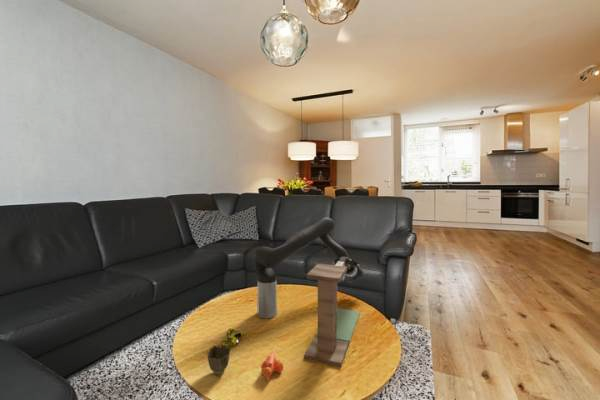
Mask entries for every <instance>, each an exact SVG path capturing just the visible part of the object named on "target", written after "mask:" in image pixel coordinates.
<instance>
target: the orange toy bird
mask: <svg viewBox="0 0 600 400" xmlns="http://www.w3.org/2000/svg"><path fill="white" fill-rule="evenodd" d="M275 355H276V350H274V349H273V350H272V351H271V354H270V355H268V356H267V357H266V359H265V360H264V361H262V364H261V366H260V367H261V373H262V374H263V375H264V377H265V378H266V379H265V380H266V381H269V379H270V378H271V376H272V375H273V373H274V372H275V373H281V372H283V370H284V364H283V362H282V361H280V360H277V359H276V356H275Z"/></svg>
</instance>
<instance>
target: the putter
mask: <svg viewBox="0 0 600 400" xmlns="http://www.w3.org/2000/svg"><path fill="white" fill-rule="evenodd" d="M346 258H348V257H341V258H340V259H339V261H338V262H337V263H336V265H335V266H345V267H346V265H347V264H346ZM344 280H345V275H344V276H343V278H342V279H341V281H340V282H343V281H344Z"/></svg>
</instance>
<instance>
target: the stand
mask: <svg viewBox="0 0 600 400" xmlns="http://www.w3.org/2000/svg"><path fill="white" fill-rule="evenodd" d="M346 272H347V267H345V266H335V265H333V264H325V263H317V264H316V265H315V266H314V267H312V269H311V270H310V271H308V273H306V279H308V280H314V281H317V333H318V336H317V334H316V335H315V334H314V337H313V339H312V340H311V342H310V344H309V345H308V347H307V349H306V350H305V352H304V354H303V359H305V360H309V361H314V362H318V363H323V364H327V365H330V366H335V367H340V368H342V366H343V363H344V361H345V358H346V355H347V351H348V349H349V347H350V346H349V345H350V343H349V342H347V341H342V340H337V308H338V284H339V283H341V282H342V281H341V279H342V278H343V276H344V275H345V273H346Z"/></svg>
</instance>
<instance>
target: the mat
mask: <svg viewBox="0 0 600 400" xmlns="http://www.w3.org/2000/svg"><path fill="white" fill-rule="evenodd" d="M360 315H361V311H360V310H359V311H357V310H351V309H345V308H339V307H337V340H342V341H347V342H349V344H350V343H351V340H352V338H353V335H354V331H355V329H356V325H357V322H358V321H359V317H360ZM316 335H317V336H318V332H317V333H316Z"/></svg>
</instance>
